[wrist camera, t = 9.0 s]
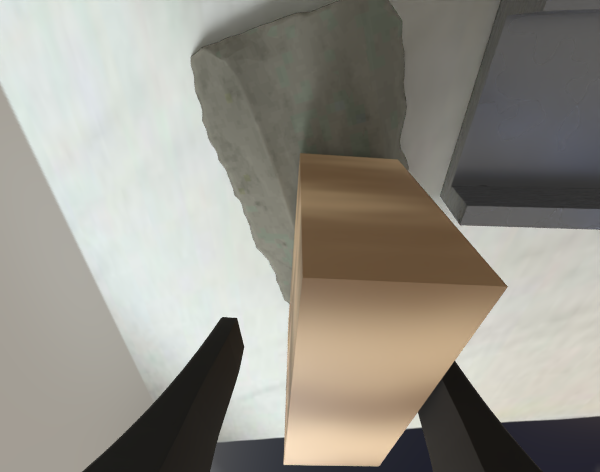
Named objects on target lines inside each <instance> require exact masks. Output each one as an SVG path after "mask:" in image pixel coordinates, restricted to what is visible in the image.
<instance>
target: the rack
mask: <svg viewBox="0 0 600 472" xmlns="http://www.w3.org/2000/svg"><path fill="white" fill-rule="evenodd" d="M440 197H441V198H442V200H443V201H444V203H445V204H446V206H447V207H448V208H449V210H450V211H451V213H452V214H453V216H454V217H455V218H456V220H457V221H458V223H459V224H460V225H472V226H503V227H535V228H567V229H598V230H600V0H501V3H500V6H499V10H498V13H497V16H496V19H495V22H494V26H493V29H492V32H491V35H490V38H489V42H488V45H487V48H486V51H485V54H484V58H483V61H482V64H481V67H480V70H479V74H478V77H477V80H476V83H475V86H474V90H473V93H472V96H471V99H470V102H469V106H468V109H467V112H466V115H465V118H464V122H463V125H462V128H461V131H460V134H459V138H458V141H457V144H456V147H455V150H454V154H453V157H452V160H451V163H450V166H449V170H448V173H447V176H446V179H445V182H444V186H443V189H442V192H441V195H440Z"/></svg>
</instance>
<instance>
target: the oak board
mask: <svg viewBox="0 0 600 472" xmlns="http://www.w3.org/2000/svg"><path fill="white" fill-rule="evenodd" d="M506 288H507V285H506V284H505V283H504V282H503V281H502V280H501V278H500V277H499V276H498V275H497V274H496V273H495V271H494V270H493V269H492V268H491V267H490V266H489V265H488V263H487V262H486V261H485V260H484V259H483V258H482V256H481V255H480V254H479V253H478V252H477V251H476V249H475V248H474V247H473V246H472V245H471V244H470V243H469V241H468V240H467V239H466V238H465V237H464V236H463V234H462V233H461V232H460V231H459V230H458V229H457V227H456V226H455V225H454V224H453V223H452V222H451V221H450V219H449V218H448V217H447V216H446V215H445V214H444V212H443V211H442V210H441V209H440V208H439V207H438V205H437V204H436V203H435V202H434V201H433V200H432V198H431V197H430V196H429V195H428V194H427V193H426V192H425V190H424V189H423V188H422V187H421V186H420V185H419V183H418V182H417V181H416V180H415V179H414V178H413V176H412V175H411V174H410V173H409V172H408V171H407V170H406V168H405V167H404V166H403V165H402V164H401V163H400V161H399V160H398V159H383V158H367V157H352V156H337V155H321V154H306V153H300V161H299V175H298V190H297V204H296V219H295V234H294V248H293V263H292V278H291V292H290V307H289V322H288V352H287V382H286V412H285V443H284V465H334V466H335V465H336V466H379V465H380V464H381V462H382V461H383V460H384V458H385V457H386V456H387V454H388V453H389V451H390V450H391V449H392V447H393V446H394V444H395V443H396V442H397V440H398V439H399V437H400V436H401V435H402V433H403V432H404V430H405V429H406V428H407V426H408V425H409V423H410V422H411V421H412V419H413V418H414V417H415V415H416V414H417V412H418V411H419V410H420V408H421V407H422V405H423V404H424V403H425V401H426V400H427V398H428V397H429V396H430V394H431V393H432V391H433V390H434V389H435V387H436V386H437V384H438V383H439V382H440V380H441V379H442V378H443V376H444V375H445V373H446V372H447V371H448V369H449V368H450V366H451V365H452V364H453V362H454V361H455V359H456V358H457V357H458V355H459V354H460V352H461V351H462V350H463V348H464V347H465V346H466V344H467V343H468V341H469V340H470V339H471V337H472V336H473V334H474V333H475V332H476V330H477V329H478V327H479V326H480V325H481V323H482V322H483V320H484V319H485V318H486V316H487V315H488V313H489V312H490V311H491V309H492V308H493V307H494V305H495V304H496V302H497V301H498V300H499V298H500V297H501V295H502V294H503V293H504V291H505V290H506Z"/></svg>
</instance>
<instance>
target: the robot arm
mask: <svg viewBox="0 0 600 472" xmlns="http://www.w3.org/2000/svg"><path fill="white" fill-rule="evenodd" d="M243 350H244V344H243V340H242V336H241V332H240V328H239V324H238V320H237V318H228V317H222V318H221V319H220V320H219V322H218V323H217V325H216V326H215V328H214V329H213V330H212V332H211V333H210V335H209V336H208V337H207V339H206V340H205V341H204V343H203V344H202V346H201V347H200V348H199V350H198V351H197V352H196V353H195V355H194V356H193V357H192V359H191V360H190V361H189V362H188V364H187V365H186V366H185V367H184V369H183V370H182V371H181V372H180V374H179V375H178V376H177V377H176V378H175V379H174V381H173V382H172V383H171V384H170V385H169V386H168V388H167V389H166V390H165V391H164V392H163V393H162V395H161V396H160V397H159V398H158V399H157V400H156V401H155V402H154V403H153V404H152V405H151V407H150V408H149V409H148V410H147V411H146V412H145V413H144V414H143V415H142V416H141V417H140V418H139V419H138V420H137V421H136V422H135V423H134V424H133V425H132V426H131V427H130V428H129V429H128V430H127V431H126V432H125V433H124V434H123V435H122V436H121V437H120V438H119V439H118V440H117V441H116V442H115V443H114V444H113V445H112V446H110V447H109V448H108V449H107V450H106V451H105V452H104V453H103V454H102V455H101V456H99V457H98V458H97V459H96V460H95V461H94V462H93V463H92V464H90V465H89V466H88V467H87V468H86V469H85V470H84V471H83V472H210V469H211V465H212V460H213V456H214V451H215V447H216V443H217V440H218V436H219V433H220V430H221V427H222V423H223V420H224V417H225V414H226V411H227V408H228V405H229V402H230V399H231V396H232V392H233V389H234V386H235V383H236V380H237V377H238V373H239V369H240V365H241V360H242V355H243ZM418 414H419V418H420V421H421V425H422V429H423V432H424V436H425V440H426V444H427V448H428V451H429V455H430V460H431V464H432V468H433V472H543V471H542V470H541V469H540V468H539V467H538V466H537V465H536V464H535V463H534V461H533V460H532V459H531V458H530V457H529V456H528V455H527V454H526V452H525V451H524V450H523V449H522V448H521V447H520V445H519V444H518V443H517V442H516V441H515V440H514V438H513V437H512V436H511V435H510V434H509V432H508V431H507V430H506V429H505V427H504V426H503V425H502V424H501V422H500V421H499V420H498V419H497V417H496V416H495V415H494V414H493V412H492V411H491V410H490V408H489V407H488V406H487V405H486V403H485V402H484V401H483V399H482V398H481V397H480V395H479V394H478V393H477V391H476V390H475V388H474V387H473V386H472V384H471V383H470V382H469V380H468V379H467V377H466V376H465V375H464V373H463V372H462V370H461V369H460V367H459V366H458V365H457V363H456V362H455V361H454V362H453V364H452V365H451V366H450V368H449V369H448V371H447V372H446V373H445V375H444V376H443V378H442V379H441V380H440V382H439V383H438V384H437V386H436V387H435V389H434V390H433V391H432V393H431V394H430V396H429V397H428V398H427V400H426V401H425V403H424V404H423V405H422V407H421V408H420V410H419V411H418Z"/></svg>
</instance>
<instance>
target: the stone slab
mask: <svg viewBox="0 0 600 472" xmlns="http://www.w3.org/2000/svg"><path fill="white" fill-rule="evenodd" d="M191 67H192V70H193V74H194V83H195V92H196V94H197V97H198V99H199V102H200V104H201V107H202V121H203V124H204V126H205V128H206V130H207V135H208V138H209V140H210V142H211V144H212V146H213V147H214V148H215V150H216V152H217V154H218V159H219V161H220V163H221V164H222V165H223V166H224V168H225V169H226V171H227V174H228V177H229V179H230V182H231V185H232V187H233V191H234V195H235V196H236V197H237V198H238V199H239V200H240V202H241V204H242V207H243V211H244V214H245V216H246V218H247V220H248V223H249V225H250V229H251V233H252V237H253V240H254V242H255V245H256V248H257V249H258V250H259V251H260V252H261V253H262V254H263V255H264V256H265V257H266V258H267V259H268V260H269V262H270V265H271V266H272V268H273V270H274V272H275V274H276V281H277V283H278V284H279V287H280V290H281V292H282V294H283V297H284V300H285V301H287V302H288V303H289V304H290V292H291V278H292V263H293V248H294V234H295V219H296V204H297V190H298V175H299V161H300V153H306V154H321V155H337V156H352V157H367V158H383V159H398V160H399V161H400V163H401V164H402V165H403V166H404V167H405V168H406V170H407V171H408V164H407V160H406V157H405V156H404V154H403V152H402V151H401V147H400V135H401V130H402V127H403V123H404V119H405V115H406V108H407V106H406V97H405V94H404V84H403V81H404V49H403V44H402V20H401V18H400V17H399V16H398V14H397V12H396V11H395V10H394V8H393V6H392V5H391V4H390V2H389V1H388V0H339V1H337V2H334V3H332V4H329V5H326V6H324V7H321V8H319V9H317V10H314V11H312V12H303V13H295V14H292V15H289V16H286V17H283V18H281V19H278V20H276V21H273V22H271V23H267V24H264V25H261V26H259V27H256V28H253V29H251V30H248V31H246V32H244V33H242V34H239V35H236V36H232V37H228V38H226V39H224V40H222V41H220V42H218V43H214V44H211V45H207V46H205V47H202V48H201V49H200V50H199V51H198V52H197V53H195V54H194V55H193V56H192V57H191Z"/></svg>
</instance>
